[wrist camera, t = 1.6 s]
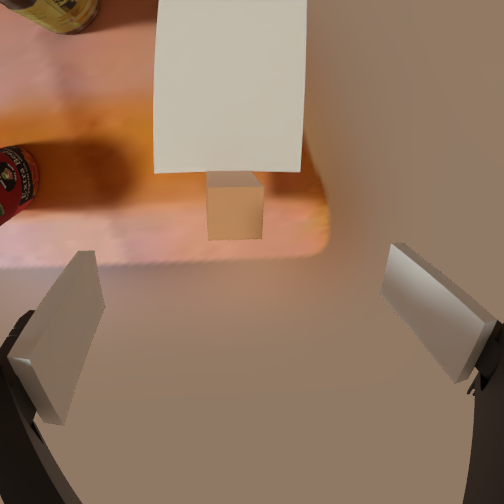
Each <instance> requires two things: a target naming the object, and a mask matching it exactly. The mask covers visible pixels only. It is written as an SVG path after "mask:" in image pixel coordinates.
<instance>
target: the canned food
mask: <svg viewBox="0 0 504 504" xmlns="http://www.w3.org/2000/svg"><path fill="white" fill-rule="evenodd" d="M38 187H39V170H38V166H37V164H36V161H35V159H34V158H33V156H32V155H31V154H30V153H29V152H28V151H26V150H25V149H22V148H19V147H16V146H7V147H3V148H0V226H1V225H2V224H4V223H5V222H6V221H8V220H9V219H11V218H12V217H13V216H15V215H16V214H18V213H19V212H21V211H22V210H24V209H25V208H26V207H27V206H28V205H29V204H30V203H31V202H32V200H33V199H34V197H35V195H36V193H37V190H38Z"/></svg>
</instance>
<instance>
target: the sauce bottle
mask: <svg viewBox="0 0 504 504" xmlns="http://www.w3.org/2000/svg"><path fill="white" fill-rule="evenodd" d="M0 3H1V4H3V5H5V6H6V7H7V8H8V9H10V10H12V11H14V12H16V13H18V14H20V15H22V16H24V17H26V18H28V19H29V20H31V21H33V22H35V23H37V24H39V25H40V26H42V27H44V28H46V29H48V30H50V31H52V32H55V33H57V34H63V35H70V34H75V33H77V32H79V31H81V30H83V29H84V28H86V27H87V26H88V25H89V24H90V23H91V22H92V21H93V19H94V18H95V16H96V14H97V12H98V11H99V6H100V0H0Z"/></svg>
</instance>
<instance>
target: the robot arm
mask: <svg viewBox="0 0 504 504" xmlns="http://www.w3.org/2000/svg"><path fill="white" fill-rule="evenodd" d="M380 295H381V296H382V297H383V298H384V299H385V301H386V302H387V303H388V304H389V305H390V306H391V307H392V309H393V310H394V311H395V312H396V313H397V315H398V316H399V317H400V318H401V319H402V320H403V321H404V323H406V325H407V326H408V327H409V329H410V330H411V331H412V332H413V333H414V334H415V336H416V337H417V338H418V339H419V340H420V342H421V343H422V344H423V345H424V346H425V347H426V349H427V350H428V351H429V352H430V354H431V355H432V356H433V357H434V359H435V360H436V361H437V362H438V364H439V365H440V366H441V367H442V369H443V370H444V371H445V372H446V374H447V375H448V376H449V377H450V379H451V380H452V381H453V382H454V384H456V383H458V382H461V381H463V380H466V379H468V378H469V376H470V374H471V372H472V370H473V369H474V367H476V368H477V370H478V371H479V372H478V374H477V376H476V377H475V379H474V381H473V383H472V384H471V386H470V388H469V389H468V392H467V394H470V392H471V391H472V389H475V391H474V393H473V396H475V408H474V426H473V438H472V447H471V457H470V464H469V471H468V477H467V484H466V489H465V494H464V499H463V504H504V323H503V324H502V323H501V322H499V321H498V320H497V319H496V318H495V317H494V316H493V315H492V314H490V313H489V312H488V311H487V310H486V309H485V308H484V307H483V306H481V305H480V304H479V303H478V302H477V301H476V300H475V299H473V298H472V297H471V296H470V295H469V294H468V293H466V292H465V291H464V290H463V289H461V288H460V287H459V286H458V285H457V284H455V283H454V282H453V281H452V280H450V279H449V278H448V277H447V276H446V275H444V274H443V273H442V272H441V271H439V270H438V269H437V268H436V267H434V266H433V265H432V264H431V263H429V262H428V261H427V260H425V259H424V258H423V257H422V256H420V255H419V254H418V253H416V252H415V251H414V250H412V249H411V248H410V247H408V246H407V245H406V244H404V243H392V244H391V248H390V252H389V257H388V262H387V266H386V270H385V275H384V279H383V283H382V287H381V291H380ZM104 309H105V304H104V299H103V295H102V290H101V285H100V280H99V275H98V269H97V263H96V257H95V251H78V252H77V253H76V255H75V256H74V257H73V259H72V260H71V261H70V262H69V264H68V265H67V266H66V268H65V269H64V271H63V272H62V273H61V275H60V276H59V277H58V279H57V280H56V282H55V283H54V284H53V286H52V287H51V289H50V290H49V291H48V293H47V294H46V296H45V297H44V299H43V300H42V302H41V303H40V305H39V306H38V308H37V309H36V310H29V311H28V312H27V313H25V314H24V315H23V316H22V317H21V318H19V320H18V322H17V323H16V325H15V326H14V329H12V330H11V332H10V333H9V337H7V338H6V340H5V341H4V343H3V345H2V346H1V348H0V495H1V498H2V500H3V502H4V504H82V503H81V501H80V500H79V498H78V497H77V495H76V494H75V492H74V491H73V489H72V488H71V486H70V485H69V483H68V481H67V480H66V478H65V476H64V475H63V473H62V472H61V470H60V468H59V467H58V465H57V463H56V461H55V460H54V458H53V456H52V454H51V452H50V451H49V449H48V447H47V445H46V443H45V441H44V439H43V438H42V435H41V433H40V431H39V429H38V427H37V426H36V424H35V423H34V421H33V419H34V416H35V413H36V411H37V413H38V414H39V416H40V417H41V419H42V420H43V422H45V423H51V424H56V425H65V421H66V418H67V414H68V411H69V407H70V404H71V401H72V398H73V395H74V391H75V388H76V385H77V382H78V379H79V376H80V373H81V370H82V367H83V364H84V362H85V359H86V356H87V353H88V350H89V348H90V345H91V342H92V340H93V337H94V334H95V332H96V329H97V326H98V324H99V321H100V319H101V316H102V314H103V311H104Z"/></svg>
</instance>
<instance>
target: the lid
mask: <svg viewBox="0 0 504 504" xmlns="http://www.w3.org/2000/svg"><path fill="white" fill-rule="evenodd" d="M306 35H307V0H159V4H158V15H157V28H156V44H155V64H154V99H153V139H154V174H155V173H178V172H206V211H207V226H208V240H243V239H262V228H263V206H264V186H263V185H262V184H261V182H260V181H259V180H258V179H257V178H256V177H255V176H254V174H253V173H252V172H251V171H265V172H300V168H301V153H302V136H303V115H304V96H305V71H306Z"/></svg>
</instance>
